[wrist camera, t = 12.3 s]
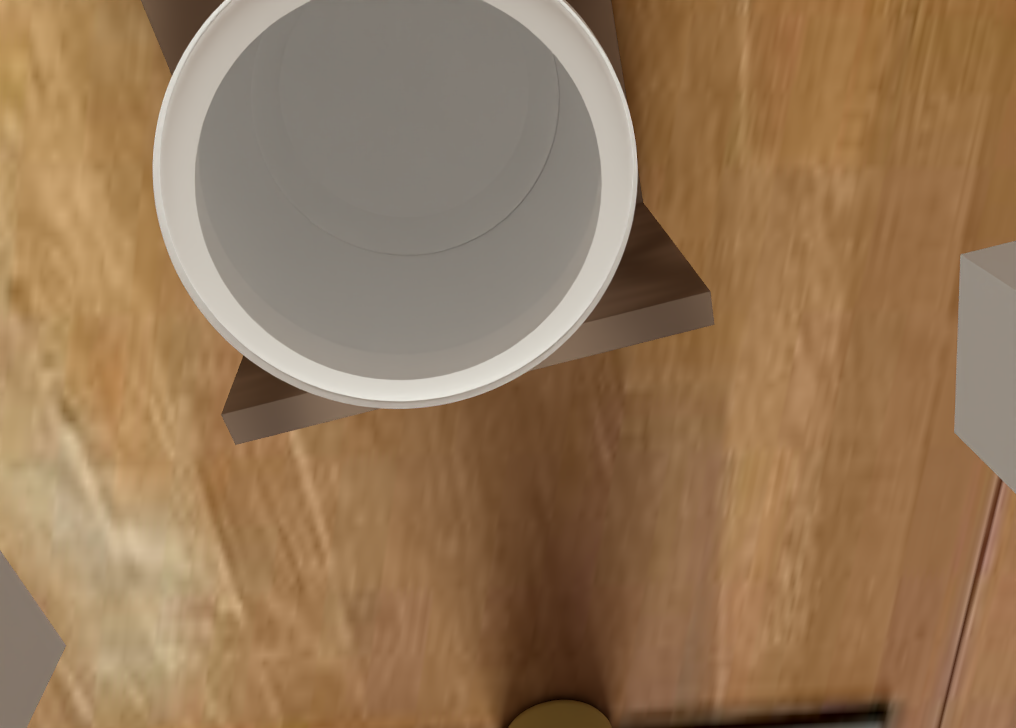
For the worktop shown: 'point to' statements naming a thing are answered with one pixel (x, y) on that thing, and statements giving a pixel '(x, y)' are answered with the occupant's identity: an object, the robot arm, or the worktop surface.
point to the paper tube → (561, 716)
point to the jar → (395, 189)
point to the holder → (611, 325)
